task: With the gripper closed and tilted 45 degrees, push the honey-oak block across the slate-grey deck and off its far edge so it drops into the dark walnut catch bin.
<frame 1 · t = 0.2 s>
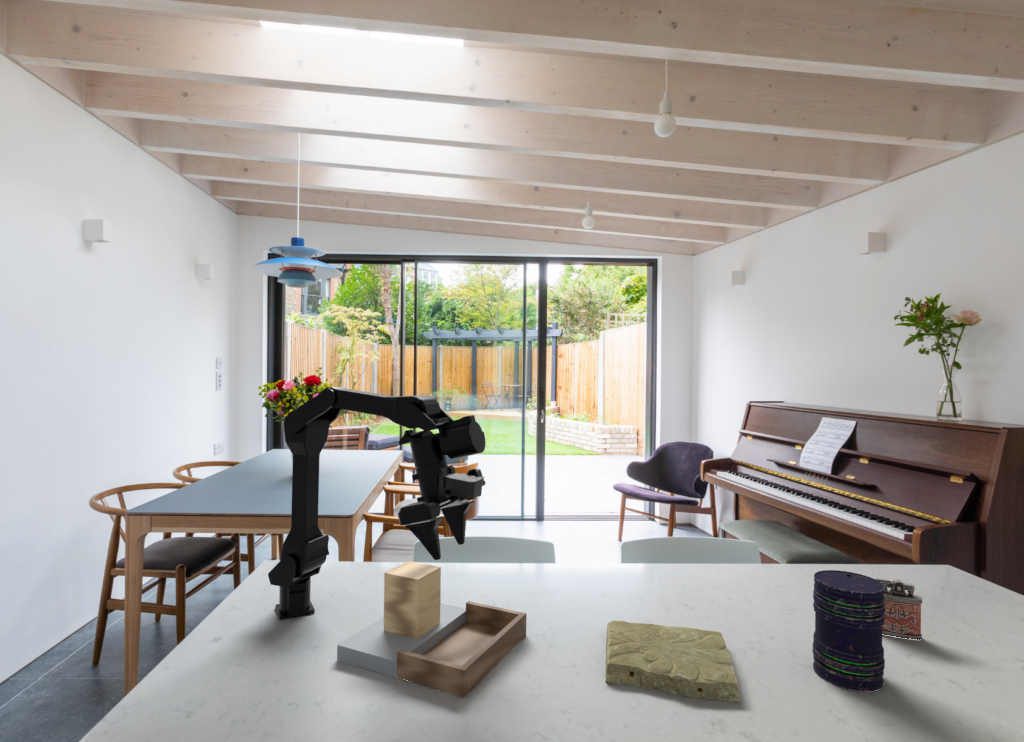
hand: (450, 551, 100), 16 cm above the countertop, tool pointing down, fingers open, 9 cm apart
block: (412, 626, 100), point 2 cm above the countertop, touching deck
lighter: (895, 635, 104), on the countertop
deck: (407, 639, 100), on the countertop
dark blue barrel: (847, 676, 90), on the countertop
catch bin: (466, 655, 95), on the countertop
decorative tile: (666, 668, 93), on the countertop
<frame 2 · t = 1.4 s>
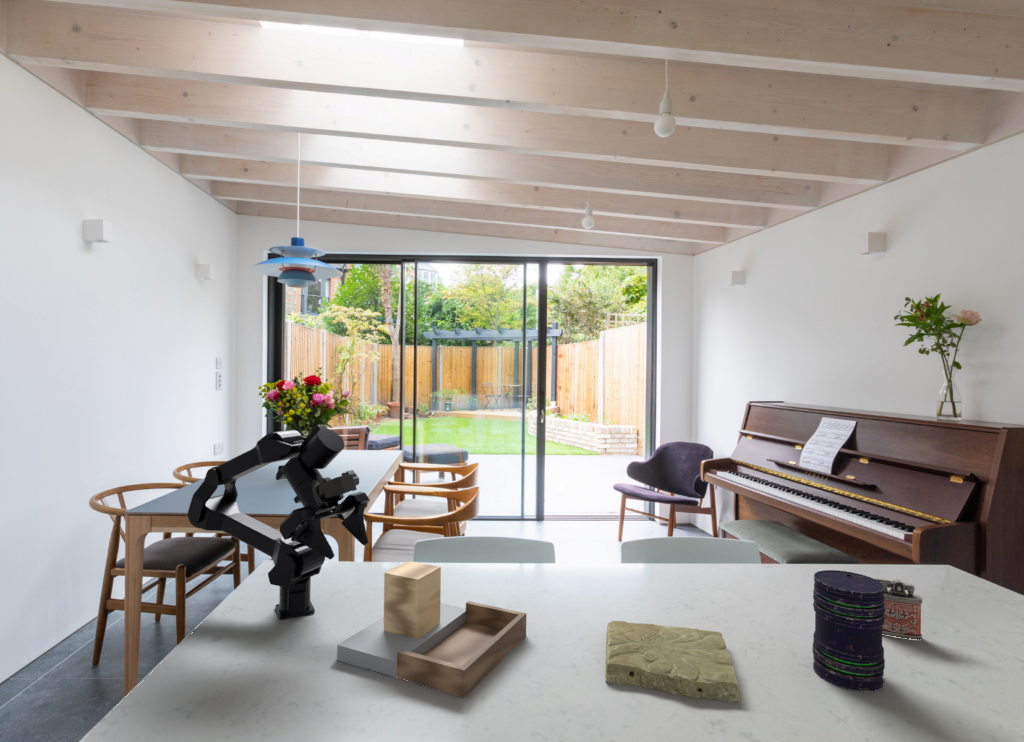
hand: (350, 550, 106), 14 cm above the countertop, tool tilted 45°, fingers open, 9 cm apart
nothing on the countertop moved.
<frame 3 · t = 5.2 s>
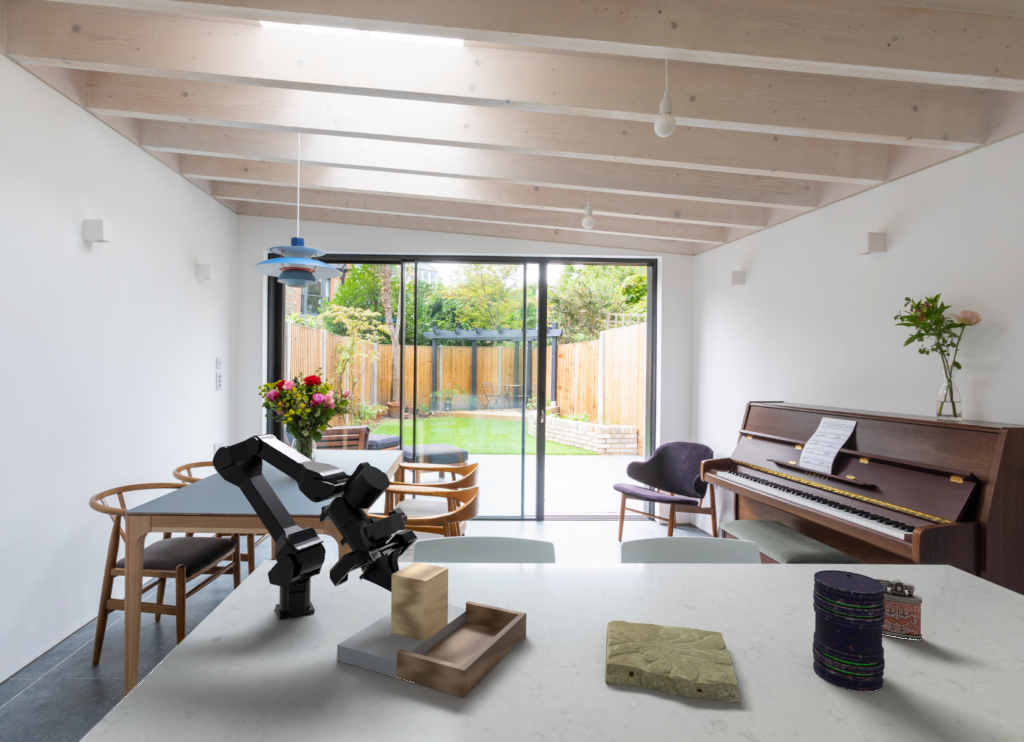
hand: (402, 594, 101), 8 cm above the countertop, tool tilted 45°, fingers closed, pressing on block
block: (419, 628, 99), point 3 cm above the countertop, touching deck, gripper
everything else where it was.
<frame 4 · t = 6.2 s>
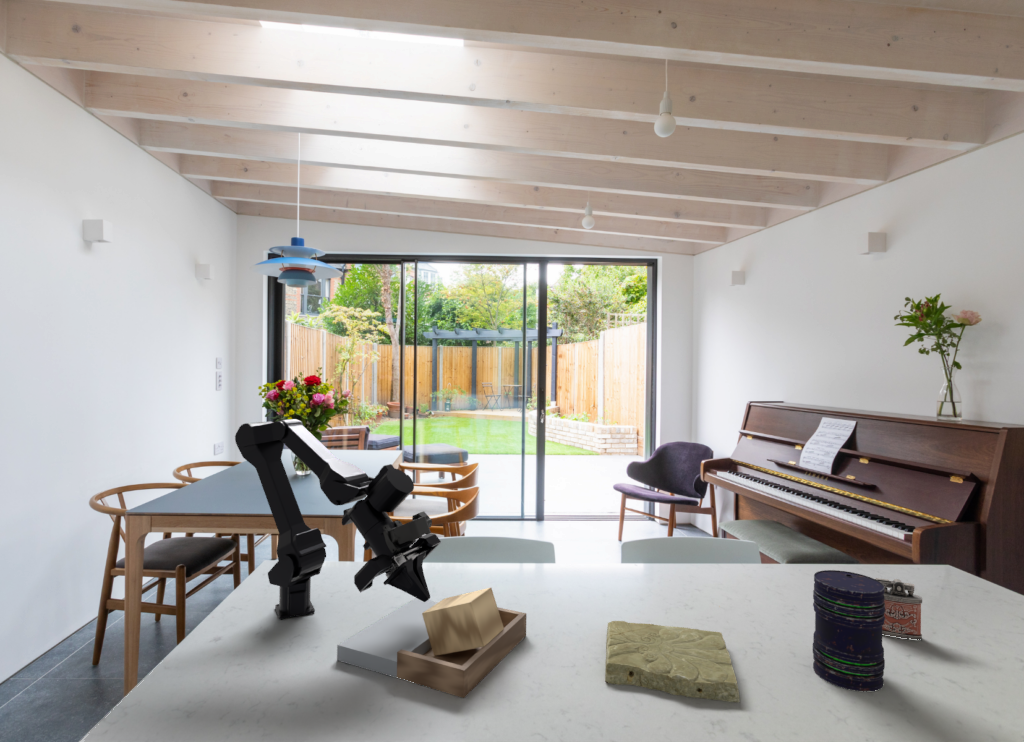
hand: (427, 599, 98), 8 cm above the countertop, tool tilted 45°, fingers closed
block: (439, 626, 97), point 4 cm above the countertop, tilted 69°, touching catch bin
everything else where it was.
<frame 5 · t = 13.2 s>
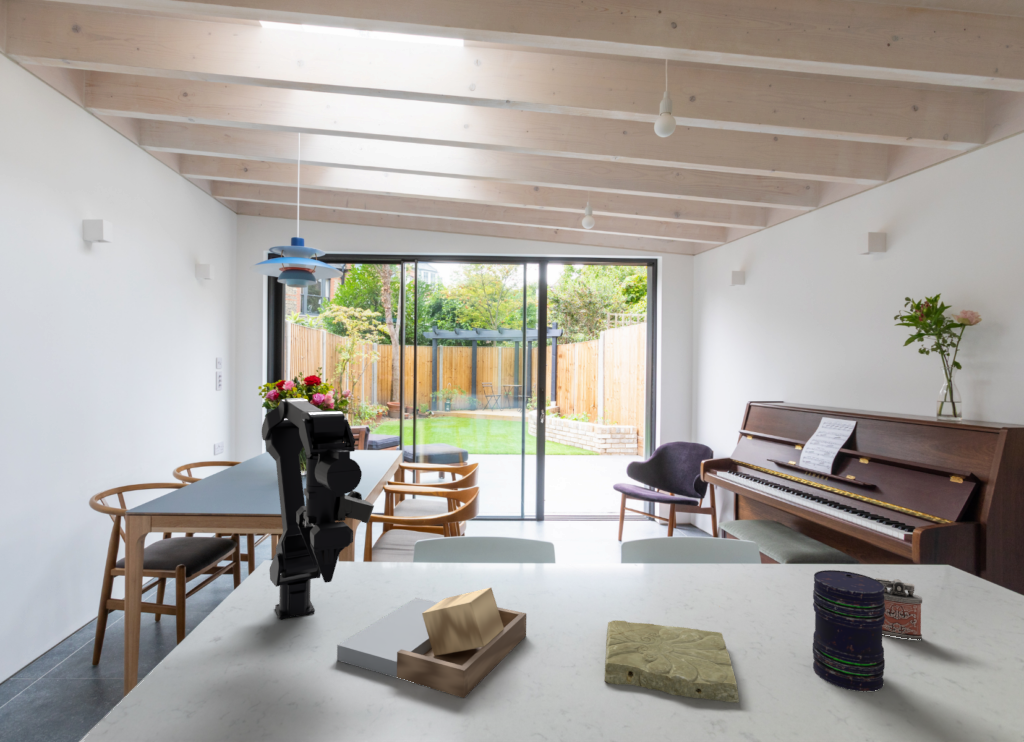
hand: (322, 573, 99), 12 cm above the countertop, tool pointing down, fingers open, 9 cm apart
nothing on the countertop moved.
at the end: block touching catch bin; block inside the target area on the catch bin (5.4 cm from its centre), point 3.8 cm above the catch bin's base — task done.
